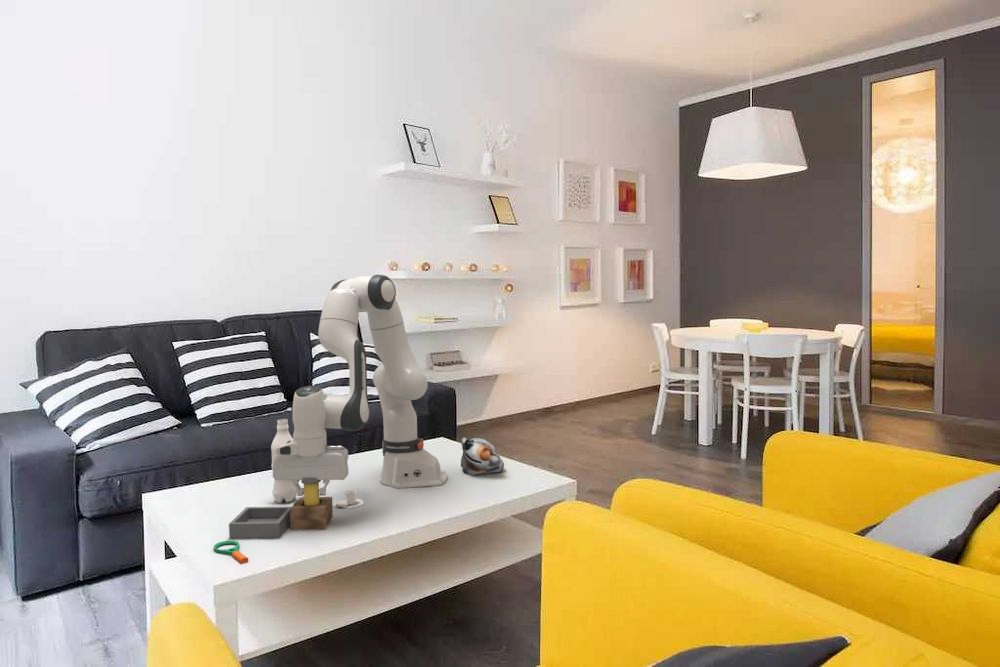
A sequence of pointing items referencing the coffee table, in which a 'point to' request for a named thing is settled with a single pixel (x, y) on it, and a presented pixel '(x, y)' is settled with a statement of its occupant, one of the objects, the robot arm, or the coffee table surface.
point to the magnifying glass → (231, 550)
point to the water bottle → (281, 487)
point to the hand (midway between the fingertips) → (311, 494)
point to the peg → (311, 491)
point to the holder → (311, 514)
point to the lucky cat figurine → (480, 457)
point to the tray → (260, 523)
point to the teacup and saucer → (349, 500)
